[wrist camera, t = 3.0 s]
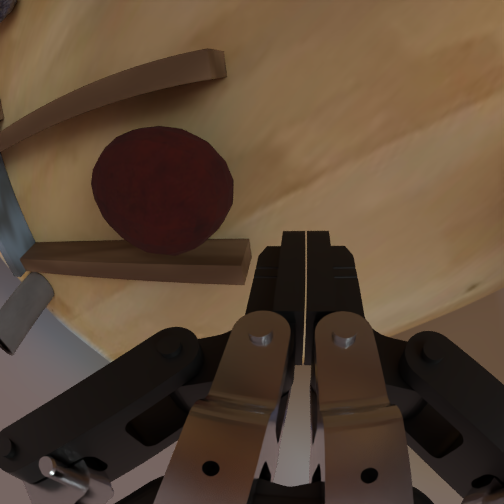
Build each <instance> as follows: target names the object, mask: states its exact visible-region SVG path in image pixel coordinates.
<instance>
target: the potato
mask: <svg viewBox="0 0 504 504" xmlns="http://www.w3.org/2000/svg"><path fill="white" fill-rule="evenodd" d="M91 185H92V190H93V194H94V199H95V201H96V203H97V205H98V207H99V209H100V212H101V214H102V216H103V218H104V219H105V220H106V221H107V223H108V224H109V225H110V226H111V227H112V228H113V229H114V230H115V231H116V232H117V233H118V234H119V235H120V236H121V237H122V238H124V239H125V240H126V241H128V242H129V243H130V244H132V245H133V246H135V247H137V248H139V249H141V250H143V251H145V252H147V253H154V254H163V255H172V256H176V255H179V254H182V253H185V252H188V251H191V250H193V249H195V248H197V247H198V246H200V245H201V244H203V243H204V242H205V241H206V240H207V239H208V238H209V237H210V236H211V235H212V234H214V233H215V232H216V231H217V230H218V229H219V227H220V226H221V224H222V223H223V222H224V220H225V218H226V216H227V214H228V212H229V210H230V208H231V206H232V204H233V178H232V176H231V173H230V171H229V168H228V166H227V164H226V161H225V160H224V159H223V158H222V157H221V156H220V155H219V154H218V153H217V152H216V150H215V149H214V148H213V147H212V146H211V145H210V144H209V143H208V142H207V141H205V140H203V139H201V138H199V137H197V136H195V135H193V134H191V133H189V132H187V131H185V130H183V129H178V128H171V127H163V126H155V127H147V128H140V129H136V130H132V131H130V132H127V133H125V134H123V135H120V136H118V137H116V138H115V139H114V140H113V141H112V142H111V143H110V144H109V145H108V146H106V147H105V149H104V150H103V152H102V154H101V155H100V157H99V159H98V161H97V162H96V164H95V166H94V168H93V173H92V181H91Z"/></svg>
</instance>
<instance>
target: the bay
mask: <svg viewBox="0 0 504 504" xmlns="http://www.w3.org/2000/svg"><path fill="white" fill-rule="evenodd" d="M222 77H227V73H226V66H225V59H224V51H219V50H213V49H202V50H197V51H193V52H188V53H184V54H179V55H175V56H171V57H167V58H164V59H160V60H156V61H153V62H149V63H146V64H143V65H140V66H136V67H133V68H130V69H127V70H124V71H122V72H119V73H116V74H113V75H111V76H108V77H105V78H103V79H100V80H98V81H95V82H93V83H90V84H88V85H86V86H83V87H81V88H79V89H77V90H74V91H72V92H70V93H68V94H66V95H64V96H62V97H60V98H58V99H56V100H54V101H52V102H50V103H48V104H46V105H44V106H42V107H40V108H39V109H37V110H35V111H33V112H32V113H30V114H28V115H26V116H25V117H23V118H21V119H20V120H18V121H16V122H15V123H13V124H12V125H10V126H9V127H7V128H5V129H4V130H2V131H1V132H0V152H1V151H3V150H5V149H7V148H8V147H10V146H12V145H14V144H16V143H18V142H20V141H22V140H23V139H25V138H27V137H29V136H31V135H33V134H36V133H38V132H40V131H42V130H44V129H46V128H48V127H51V126H53V125H55V124H57V123H60V122H62V121H65V120H67V119H69V118H72V117H74V116H77V115H79V114H82V113H85V112H87V111H90V110H93V109H96V108H99V107H101V106H104V105H107V104H110V103H113V102H117V101H120V100H123V99H126V98H130V97H133V96H137V95H140V94H144V93H148V92H152V91H156V90H160V89H164V88H168V87H173V86H177V85H182V84H187V83H192V82H198V81H203V80H209V79H215V78H222ZM2 119H4V116H3V111H2V106H1V101H0V121H1V120H2ZM0 251H1V253H2V255H3V257H4V259H5V261H6V263H7V264H8V266H9V268H10V270H11V271H12V273H13V275H14V276H17V277H21V276H22V275H23V274H24V273H25V272H26V271H31V272H41V273H51V274H62V275H74V276H86V277H99V278H113V279H127V280H143V281H161V282H180V283H202V284H229V285H244V284H245V281H246V277H247V273H248V269H249V265H250V261H251V258H252V256H251V249H250V242H249V239H207V240H206V241H205V242H204V243H203V244H201V245H200V246H198V247H197V248H195V249H193V250H191V251H188V252H185V253H182V254H179V255H176V256H172V255H163V254H154V253H147V252H145V251H143V250H141V249H139V248H137V247H135V246H133V245H132V244H130V243H129V242H128V241H126V240H114V241H71V242H37V243H35V240H34V238H33V236H32V234H31V232H30V230H29V228H28V225H27V223H26V221H25V219H24V216H23V214H22V212H21V209H20V207H19V204H18V202H17V199H16V197H15V194H14V192H13V189H12V186H11V183H10V181H9V178H8V175H7V172H6V169H5V166H4V163H3V159H2V156H1V153H0Z"/></svg>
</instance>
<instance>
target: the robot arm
mask: <svg viewBox="0 0 504 504" xmlns="http://www.w3.org/2000/svg"><path fill="white" fill-rule="evenodd" d="M304 309H305V231H283V235H282V243H281V246H267V247H266V248H265V249H264V250H263V252H262V253H261V254H260V255H259V257H258V261H257V266H256V270H255V274H254V279H253V283H252V287H251V292H250V296H249V300H248V305H247V309H246V313H245V315H244V316H243V317H241V318H240V319H239V320H238V321H237V322H236V323H235V324H234V326H233V328H232V330H231V331H229V332H227V333H224V334H221V335H217V336H212V337H207V338H202V339H197V337H196V336H195V334H194V333H193V332H191V331H190V330H188V329H186V328H182V327H171V328H167V329H164V330H161V331H159V332H158V333H156V334H154V335H153V336H151V337H150V338H148V339H147V340H145V341H144V342H142V343H141V344H139V345H137V346H136V347H134V348H133V349H131V350H130V351H128V352H127V353H125V354H123V355H122V356H120V357H119V358H117V359H116V360H114V361H112V362H111V363H109V364H108V365H106V366H105V367H103V368H102V369H100V370H98V371H97V372H95V373H94V374H92V375H90V376H89V377H87V378H86V379H84V380H82V381H81V382H79V383H78V384H76V385H74V386H73V387H71V388H70V389H68V390H67V391H65V392H63V393H62V394H60V395H58V396H57V397H55V398H54V399H52V400H50V401H49V402H47V403H45V404H44V405H42V406H41V407H39V408H38V409H36V410H34V411H32V412H31V413H29V414H27V415H26V416H24V417H23V418H21V419H20V420H18V421H16V422H14V423H13V424H11V425H10V426H8V427H6V428H4V429H3V430H2V431H1V432H0V468H1V469H2V470H4V471H5V472H7V473H9V474H11V475H13V476H15V477H17V478H19V479H21V480H22V481H23V482H24V485H25V487H26V490H27V493H28V495H29V498H30V500H31V503H32V504H105V503H106V502H107V501H108V500H109V499H111V498H112V497H113V495H114V490H113V488H112V487H111V481H113V480H115V479H117V478H119V477H120V476H122V475H124V474H125V473H127V472H129V471H130V470H132V469H134V468H135V467H137V466H139V465H140V464H142V463H144V462H145V461H147V460H148V459H150V458H152V457H153V456H155V455H156V454H158V453H159V452H161V451H162V450H163V449H165V448H167V447H168V446H170V445H171V444H173V443H174V442H175V441H177V440H178V442H177V445H176V447H175V450H174V452H173V455H172V457H171V460H170V463H169V465H168V467H167V470H166V472H165V475H164V476H162V477H159V478H157V479H155V480H153V481H150V482H149V483H147V484H146V485H144V486H142V487H141V488H139V489H138V490H136V491H134V492H133V493H131V494H130V495H128V496H126V497H125V498H123V499H121V500H120V501H118V502H116V503H115V504H434V503H433V502H432V501H431V500H430V499H429V498H428V497H427V496H426V495H425V494H424V493H422V492H421V491H420V490H418V489H417V488H415V487H413V486H412V479H411V470H410V462H409V454H408V447H407V445H408V446H409V447H410V448H411V449H413V450H414V451H415V452H416V453H417V454H418V455H419V456H420V457H421V458H422V459H423V460H424V461H425V462H426V463H427V464H428V465H429V466H430V467H431V468H432V469H433V470H434V471H435V472H436V473H437V474H438V475H439V476H440V477H441V478H442V479H443V480H444V481H446V482H447V483H448V484H449V485H450V486H451V487H452V488H453V489H454V490H456V492H457V493H458V494H459V495H460V496H462V498H464V499H463V501H462V503H461V504H504V385H503V384H502V383H501V382H500V381H499V380H498V379H496V378H495V377H494V376H493V375H492V374H491V373H489V372H488V371H487V370H486V369H485V368H483V367H482V366H481V365H480V364H478V363H477V362H476V361H475V360H474V359H473V358H471V357H470V356H469V355H468V354H467V353H465V352H464V351H463V350H462V349H460V348H459V347H458V346H457V345H455V344H454V343H453V342H452V341H450V340H449V339H448V338H447V337H445V336H444V335H442V334H440V333H437V332H433V331H423V332H420V333H417V334H415V335H414V336H412V337H411V338H410V339H409V341H408V342H407V341H402V340H398V339H393V338H390V337H386V336H384V335H381V334H379V333H378V332H376V331H375V330H374V329H372V327H371V325H370V324H369V322H368V321H367V320H366V319H365V316H364V311H363V305H362V299H361V294H360V288H359V283H358V278H357V272H356V269H355V262H354V258H353V255H352V254H351V253H350V251H349V250H348V249H347V248H346V247H345V246H331V244H330V236H329V231H307V307H306V338H305V360H304V365H311V380H310V417H311V419H310V420H311V452H310V470H309V472H310V473H309V475H310V476H309V484H304V485H299V486H293V487H287V486H283V485H279V484H276V483H273V480H274V476H275V472H276V467H277V462H278V456H279V448H280V442H281V438H282V433H283V428H284V423H285V419H286V414H287V409H288V403H289V398H290V393H291V386H292V384H293V380H294V369H295V365H302V355H303V335H304Z"/></svg>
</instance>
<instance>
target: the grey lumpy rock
mask: <svg viewBox="0 0 504 504" xmlns="http://www.w3.org/2000/svg"><path fill="white" fill-rule="evenodd" d="M16 2H17V0H0V23H1V22H2V21H3V19H4V18H5V17H6V15H7V14H10V13H11V11H12V9H13V7H14V5H15V4H16Z"/></svg>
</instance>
